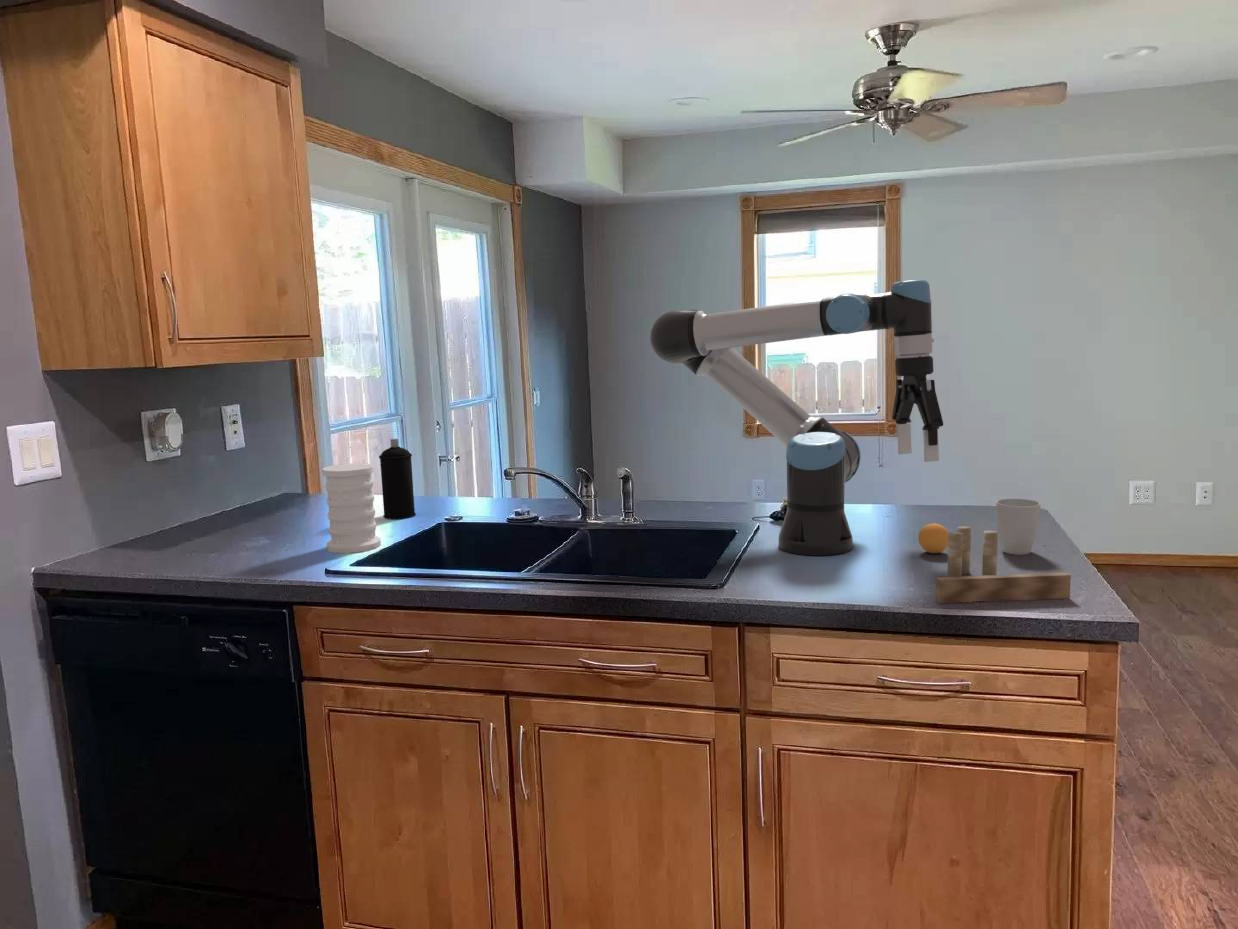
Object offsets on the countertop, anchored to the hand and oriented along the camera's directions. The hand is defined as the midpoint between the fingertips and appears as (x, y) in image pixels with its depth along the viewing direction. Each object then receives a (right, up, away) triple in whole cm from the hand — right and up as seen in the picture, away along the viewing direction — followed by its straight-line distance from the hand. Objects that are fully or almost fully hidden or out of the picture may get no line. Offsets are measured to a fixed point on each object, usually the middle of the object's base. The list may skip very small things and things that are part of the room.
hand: (917, 457), depth 192 cm
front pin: (+1, -22, -23) cm, 31 cm away
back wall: (+1, -24, -39) cm, 46 cm away
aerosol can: (-119, -15, +43) cm, 128 cm away
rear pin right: (-2, -22, -27) cm, 35 cm away
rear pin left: (+4, -22, -27) cm, 35 cm away
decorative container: (-122, -20, +11) cm, 124 cm away
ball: (0, -16, -9) cm, 19 cm away
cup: (+17, -19, -9) cm, 27 cm away
